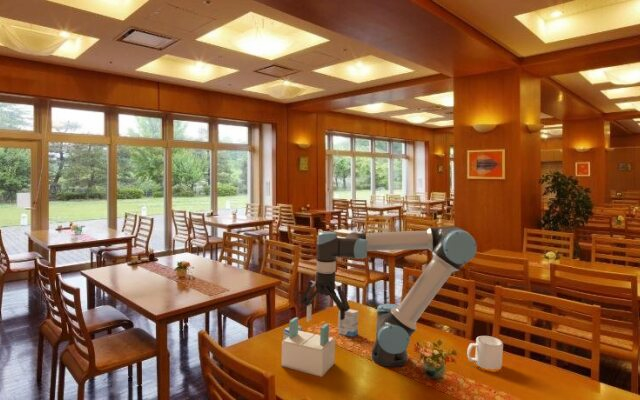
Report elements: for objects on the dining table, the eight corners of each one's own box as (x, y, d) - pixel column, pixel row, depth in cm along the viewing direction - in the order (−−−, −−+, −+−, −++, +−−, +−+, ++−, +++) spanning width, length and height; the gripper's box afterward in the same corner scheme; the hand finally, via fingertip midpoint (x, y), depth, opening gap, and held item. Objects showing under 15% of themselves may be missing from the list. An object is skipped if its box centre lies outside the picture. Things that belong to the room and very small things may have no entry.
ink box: (358, 334, 193) (359, 310, 192) (353, 337, 189) (354, 313, 188) (343, 330, 197) (343, 306, 197) (338, 333, 193) (338, 309, 192)
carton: (334, 363, 162) (334, 339, 162) (321, 376, 152) (322, 351, 151) (295, 354, 170) (296, 331, 169) (281, 366, 159) (281, 342, 159)
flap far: (314, 335, 166) (315, 317, 165) (301, 346, 155) (301, 327, 154) (297, 331, 169) (297, 314, 169) (283, 342, 158) (283, 323, 158)
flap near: (333, 339, 162) (334, 321, 161) (321, 351, 151) (321, 331, 151) (315, 335, 166) (316, 317, 165) (302, 346, 155) (302, 327, 154)
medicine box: (294, 342, 182) (295, 323, 182) (302, 345, 179) (302, 326, 179) (282, 347, 176) (283, 328, 175) (290, 350, 173) (290, 331, 173)
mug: (472, 371, 159) (473, 345, 158) (463, 359, 169) (464, 335, 168) (506, 372, 158) (507, 346, 158) (495, 360, 169) (496, 336, 168)
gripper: (359, 273, 153) (357, 326, 155) (302, 265, 164) (300, 315, 165) (352, 277, 146) (350, 333, 148) (293, 268, 157) (291, 321, 159)
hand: (324, 324), depth 157 cm, fingers open, 13 cm apart
